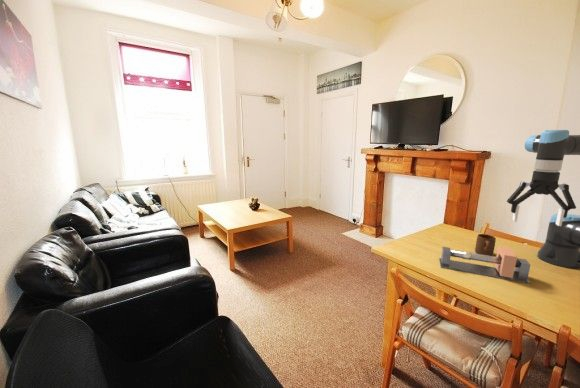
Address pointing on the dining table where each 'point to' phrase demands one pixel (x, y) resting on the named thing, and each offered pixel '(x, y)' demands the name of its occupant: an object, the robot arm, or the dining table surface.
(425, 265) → the dining table surface
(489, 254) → the mug
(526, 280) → the pipe rig
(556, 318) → the dining table surface
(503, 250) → the collar
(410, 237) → the dining table surface
